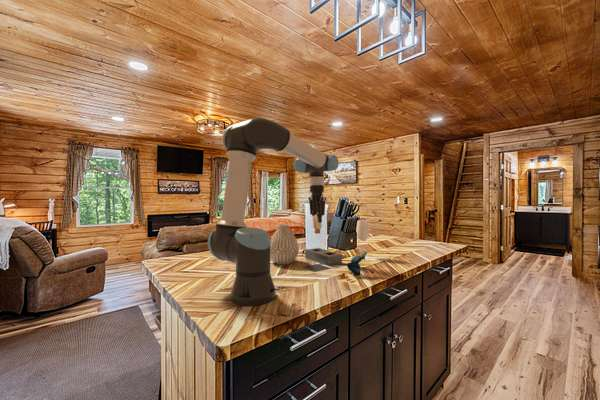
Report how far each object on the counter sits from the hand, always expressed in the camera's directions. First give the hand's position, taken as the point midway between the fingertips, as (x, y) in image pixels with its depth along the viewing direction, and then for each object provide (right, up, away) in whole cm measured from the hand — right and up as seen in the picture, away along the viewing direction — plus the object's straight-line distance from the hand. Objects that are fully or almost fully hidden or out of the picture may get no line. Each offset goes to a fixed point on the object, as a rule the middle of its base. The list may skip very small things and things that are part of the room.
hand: (317, 228), depth 141 cm
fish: (+16, -18, -27) cm, 36 cm away
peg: (0, -3, 0) cm, 3 cm away
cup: (+27, -17, +6) cm, 32 cm away
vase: (-18, -18, -6) cm, 26 cm away
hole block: (+3, -17, -3) cm, 18 cm away
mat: (-2, -18, -17) cm, 24 cm away
